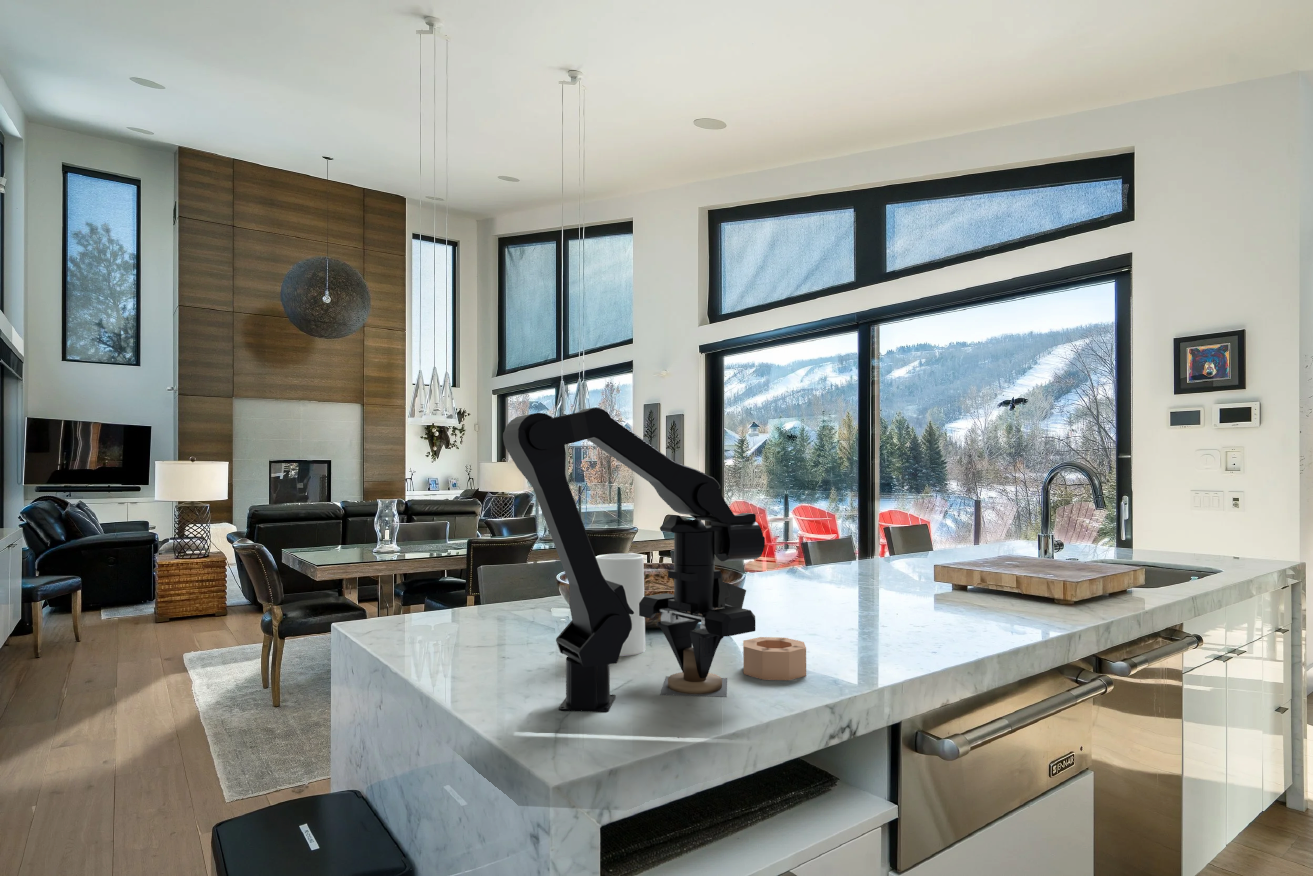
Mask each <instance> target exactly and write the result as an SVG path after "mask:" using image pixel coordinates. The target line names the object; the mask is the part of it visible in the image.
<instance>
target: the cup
mask: <svg viewBox="0 0 1313 876" xmlns="http://www.w3.org/2000/svg"><path fill="white" fill-rule="evenodd" d="M595 557H596V560H597V562H598V565H599V568H600V570H601V573H602V575H603V577H604V578H605V580H607V581H610V582H614V583H617V584H620V585H622V586H623V588H624V590H625V594H626V599H627V603H628V605H629V607H630V608H631V609H632V610H633V612H634V614H629V615H630V617H631V621H632V630H631V631H630V633H629V636H628V638H627V639H626V641H625V642H624V643H623V646H622V649H621V652H620V655H619V657H623V656H635V655H640V654H642V653H644V652H645V651H646V617H642V616H639V603H640V601H641V600H642V599H643V597H644V596H645V572H644V571H645V570H644V569H645V567H644V563H645V560H644V554H640V553H607V554H599V555H597V556H596V555H595Z"/></svg>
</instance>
